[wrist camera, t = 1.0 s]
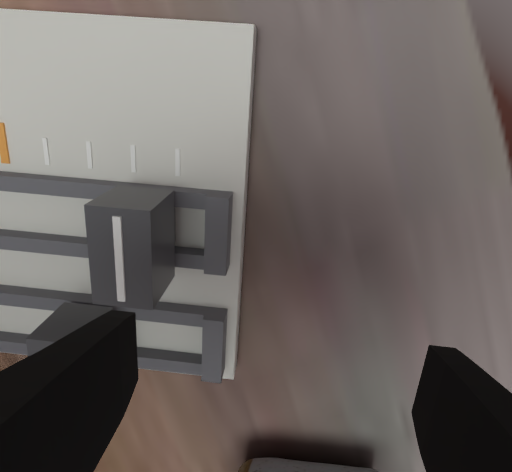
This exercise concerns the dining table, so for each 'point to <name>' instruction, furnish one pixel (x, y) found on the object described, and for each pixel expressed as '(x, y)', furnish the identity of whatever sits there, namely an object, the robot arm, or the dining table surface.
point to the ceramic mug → (295, 466)
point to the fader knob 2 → (131, 246)
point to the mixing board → (126, 169)
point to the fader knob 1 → (62, 324)
